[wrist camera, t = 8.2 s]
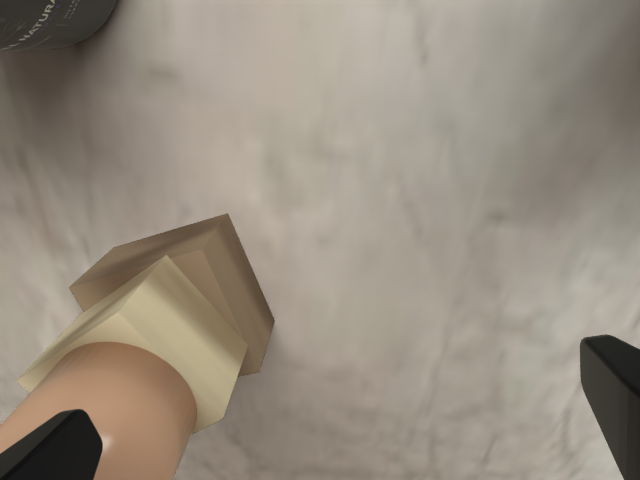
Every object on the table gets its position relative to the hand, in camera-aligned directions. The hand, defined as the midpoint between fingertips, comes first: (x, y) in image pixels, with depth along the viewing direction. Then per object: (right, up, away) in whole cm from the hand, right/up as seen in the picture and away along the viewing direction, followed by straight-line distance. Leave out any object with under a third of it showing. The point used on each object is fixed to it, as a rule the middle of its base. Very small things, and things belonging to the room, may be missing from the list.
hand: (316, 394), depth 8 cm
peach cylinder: (-7, -3, +7) cm, 10 cm away
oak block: (-6, -1, +11) cm, 13 cm away
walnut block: (-6, +1, +15) cm, 16 cm away
